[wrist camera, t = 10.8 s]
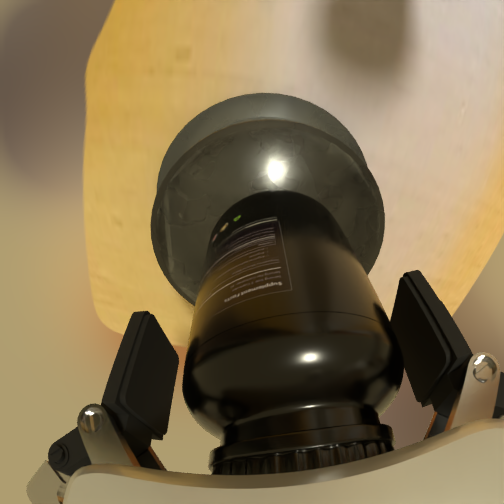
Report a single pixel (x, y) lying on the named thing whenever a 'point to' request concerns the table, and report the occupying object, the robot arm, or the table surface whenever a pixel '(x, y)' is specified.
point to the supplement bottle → (288, 343)
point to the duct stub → (258, 178)
